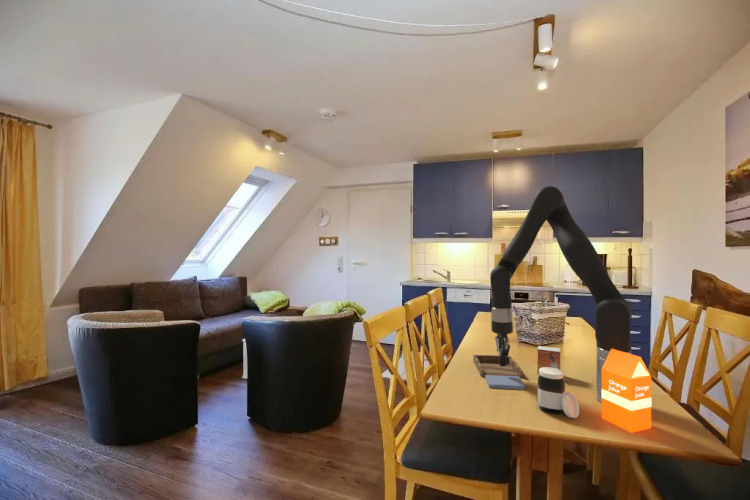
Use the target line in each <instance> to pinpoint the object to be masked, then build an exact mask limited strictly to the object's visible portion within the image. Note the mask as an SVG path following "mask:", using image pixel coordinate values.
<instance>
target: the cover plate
mask: <svg viewBox="0 0 750 500" xmlns="http://www.w3.org/2000/svg"><path fill="white" fill-rule="evenodd" d="M484 379H485V381H486V383H487V386H488V388H489V389H507V390H508V389H509V390H522V391H523V390H526V385H525V383H524V382H523V380H522V378H519V377H518V376H496V375H485V377H484Z"/></svg>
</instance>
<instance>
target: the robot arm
mask: <svg viewBox="0 0 750 500" xmlns="http://www.w3.org/2000/svg"><path fill="white" fill-rule="evenodd" d="M545 222H547V223H548V224H549V226H550V227H551V229H552V231H553V233H554V235H555V239H556V241H557V244H558V247H559V249H560V251H561V252H562V255H563V257H564V258H565V260H566V262H567V264H568V265H569V267H570V269H571V270H572V271H573V272H574V274H575V275H576V277H577V278H578V279H579V280H580V281H582V283H583V284H584V285H585V286H586V287H587V289H588V290H589V293H590V294H591V296H592V298H593V300H594V303H595V304H596V307H595V310H594V327H595V328H594V331H595V332H594V336H595V340H596V400H597V401H598V402H600V403H601V404H602V367H603V365H604V363H605V361H606V359H607V357H608V355H609V353H610V351H611V349H615V350H618V351H622V352H625V353H628V354H632V341H631V318H632V315H633V311H632V307H631V305H630V303H629V302H628V301H627V300H626V298H624V296H623V294H622V293H621V292H620V291H619V290H618V288H617V287H616V285H615V284H614V282H613V281H612V279H611V277H610V276H609V274H608V271H607V269H606V267H605V265H604V263H603V261H602V260H601V257H600V255H599V254H598V252H597V250H596V249H595V247H594V245H593V244H592V242H591V240H590V239H589V237H588V236H587V235H586V234H585V232H584V231H583V229H582V228H580V226H579V225H578V224H577V223H576V222H575V220H574V219H573V217H572V215H571V213H570V211H569V209H568V206H567V204H566V201H565V198H564V196H563V193H562V192H561V190H560V189H559V188H558V187H555V186H551V185H548V186H544V187H542V188H540V189H539V190H538V191H537V192H536V194H535V196H534V197H533V201H532V203H531V205H530V207H529V210H528V212H527V214H526V215H525V218H524V219H523V222H522V224H521V225H520V227H519V228H518V230H517V232H516V233H515V234H514V236H513V237H512V239H511V240H510V242H509V244H508V246H507V247H506V249H505V250H504V253H503V254H502V257H501V258H500V259H499V262H498V263H497V265H496V266H495V267H494V268H493V269H492V270H491V272H490V276H489V279H490V290H491V312H490V317H491V318H490V319H491V320H490V322H491V325H490V327H491V328H490V329H491V332H492V333H494V334H496V336H495V337H494V340H495V346H496V351H497V354H498V356H499V365H500V366H506V356H509V354H510V349H511V345H510V344H509V343H510V338H508V335H510V334H512V333H513V332H514V331H513V330H514V329H513V328H514V327H513V325H514V323H513V320H514V319H513V318H514V317H513V310H512V306H513V305H512V294H511V279H513V276H514V275H515V272H516V270H517V269H518V267H519V266H520V265H521V263H522V262H523V261H524V259H525V258H526V256H527V254H528V253H529V252H530V250H531V248H532V246H533V244H534V242H535V240H536V238H537V236H538V234H539V232H540V230H541V229H542V227H543V225H544V224H545Z"/></svg>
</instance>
